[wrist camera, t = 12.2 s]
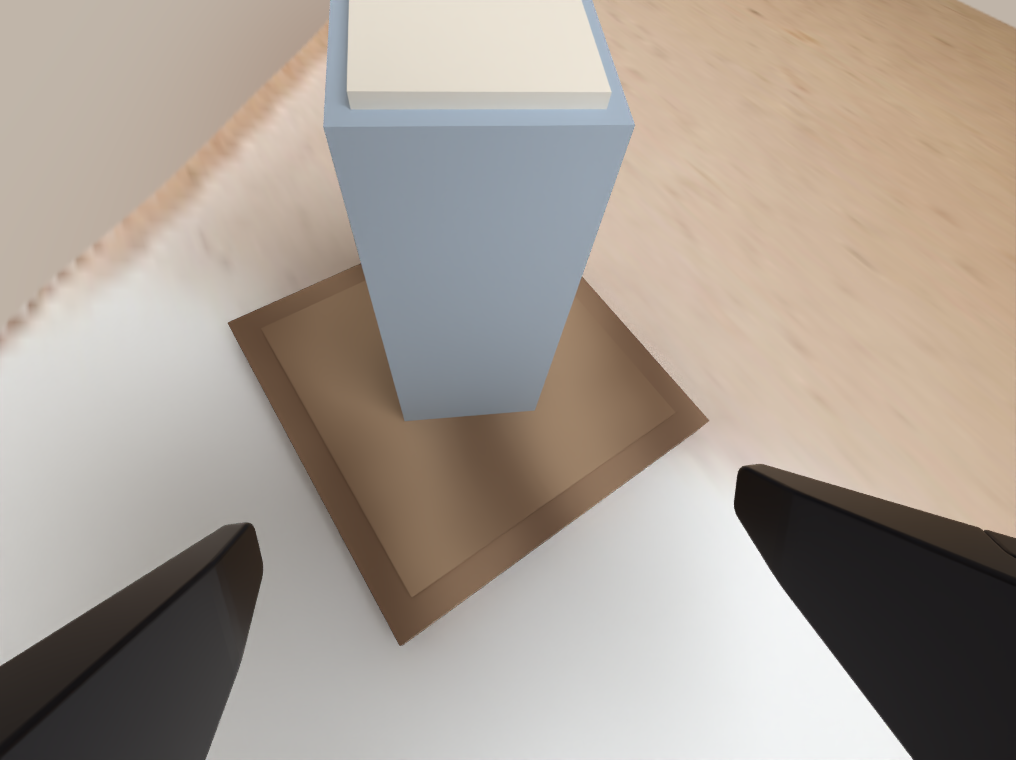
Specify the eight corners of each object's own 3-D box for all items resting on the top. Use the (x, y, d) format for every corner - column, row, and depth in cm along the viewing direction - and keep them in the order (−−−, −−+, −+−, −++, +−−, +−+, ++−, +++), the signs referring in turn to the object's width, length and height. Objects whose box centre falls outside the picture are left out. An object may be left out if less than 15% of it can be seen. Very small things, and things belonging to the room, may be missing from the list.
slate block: (534, 410, 19) (640, 108, 8) (404, 421, 19) (318, 109, 7) (521, 323, 21) (592, -27, 10) (401, 330, 20) (327, -37, 9)
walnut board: (403, 644, 17) (399, 646, 15) (239, 338, 21) (226, 321, 20) (696, 431, 21) (710, 419, 20) (509, 214, 25) (511, 195, 24)
